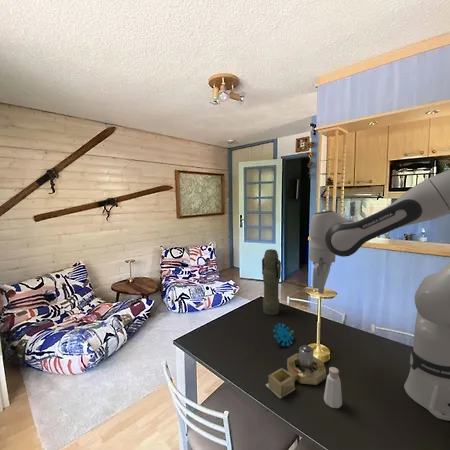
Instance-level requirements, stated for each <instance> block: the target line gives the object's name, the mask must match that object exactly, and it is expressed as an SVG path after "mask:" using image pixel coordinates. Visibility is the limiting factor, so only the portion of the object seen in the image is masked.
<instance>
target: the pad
mask: <svg viewBox="0 0 450 450" xmlns="http://www.w3.org/2000/svg"><path fill="white" fill-rule="evenodd" d="M281 382H283V381H281ZM281 382H280V383H281ZM265 386H266V388H268V389H269V390H270V391H271V392H272V393H273V394H274V395H276V396H277V398H279V399H282V398H283V397H286V396H287V395H288V394H290V393H292V392H293V391H295V390H296V388H295V387H294V389H292V390H291V391H289V392H288V393H287V394H285V395H284V396H282V397H280V396H279V395H277V394H276V393H275V392H274V391H273V390H272V389H270V388H269V387H268V383H265Z"/></svg>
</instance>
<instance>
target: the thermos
mask: <svg viewBox="0 0 450 450" xmlns="http://www.w3.org/2000/svg"><path fill="white" fill-rule="evenodd" d="M281 266H282V262H281V260H279V253H278V251H277V250H275V249H272V248H271V249H270V248H269V249H266V250H265V252H264V254H263V257H262V259H261V274H262V280H263V299H262V308H263V313H264V314H265V315H267V316H277V315H278V314H279V313H280V299H279V283H280V280H281V276H282V267H281Z"/></svg>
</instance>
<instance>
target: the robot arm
mask: <svg viewBox="0 0 450 450" xmlns="http://www.w3.org/2000/svg"><path fill="white" fill-rule="evenodd" d="M449 214H450V169H447V170H445V171H442V172H440V173H438V174H435V175H433V176H431V177H429V178H426V179H425V180H423V181H421V182H419V183H418V184H416V185H414V186H413V187H410V188H409V189H408V190H406V191H405V192H404V193H403V194H401V195H400V196H399V197H398V198H397V199H396V200H395V201H393V202H392V203H391V204H389V205H388V206H386V207H385V208H383V209H381V210H380V211H377V212H375V213H373V214H371V215H369V216H367V217H364V218H362V219H360V220H358V221H355V220H353V219H352V220H351V219H349V218H346V217H343V216H341V215H339V214H338V213H337V212H336V211H334V210H323V211H318V212H315V213H314V214H313V215H312V216H311V219H310V225H309V237H310V238H309V239H310V243H309V250H308V251H309V253H308V254H309V258H308V259H309V261H310V262H312V265H313V270H312V287H313V289H316V290H317V293H318V294H321V295H324V292H325V286H326V282H327V280H328V277H329V274H330V270H331V266H332V263H335V262H336V256H338V257H342V258H343V257H345V258H346V257H350V256H352V255H354V254H355V253H356V252H358V250H359V249H360V248H361V247H362V246H363V245H364V244H365V243H367V242H369V241H370V240H373V239H376V238H378V237H380V236H382V235H385V234H387V233H388V232H391V231H394V230H396V229H399V228H402V227H406V226H411V225H413V224H414V225H415V224H419V223H423V222H427V221H428V222H429V221H432V220H436V219H438V218H441V217H444V216H446V215H449ZM414 305H415V308H416V317H415V323H414V332H413V333H414V334H413V346H412V347H411V352H410V359H409V364H410V369H409V374H408V376H407V378H406V381H405V382H404V384H403V387H404V390H405V393H406V394H407V395H408V396H409V398H411V399H412V400H413V401H414V402H416V404H419V405H420V406H421V407H423V408H425V409H426V410H428V412H430V413H431V414H432V415H433V416H434V417H435V418H437V419H439V420H443V421H450V262H448V263H447V264H446V265H445V266H444V267H442V268H441V269H440V270H439V271H438V272H436V273H431V274H428V275H427V276H425V277H424V278H423V279H422V281H421V283H420V284H419V286H418V287H417V290H416V291H415V294H414Z"/></svg>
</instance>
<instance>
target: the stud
mask: <svg viewBox="0 0 450 450" xmlns="http://www.w3.org/2000/svg"><path fill="white" fill-rule="evenodd" d="M298 354H299V364H298V366H296V368H298V369H299V370H301V371H302V372H305V370H310V371H311V373H313V372H314V371H315V369H314V367H313V356H314V349H313V347H311V346H310V345H308V344H302V345H301V346H299V348H298Z"/></svg>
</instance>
